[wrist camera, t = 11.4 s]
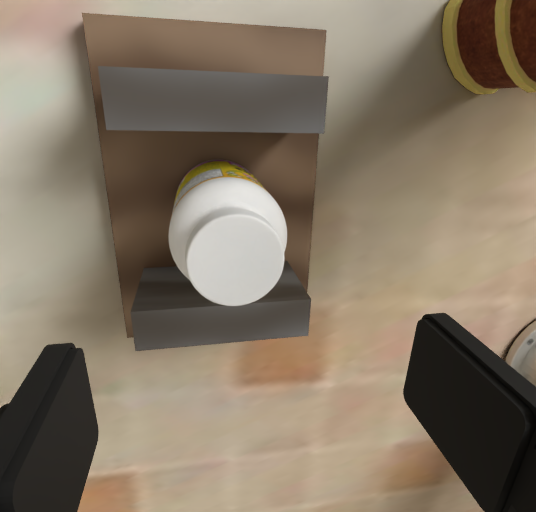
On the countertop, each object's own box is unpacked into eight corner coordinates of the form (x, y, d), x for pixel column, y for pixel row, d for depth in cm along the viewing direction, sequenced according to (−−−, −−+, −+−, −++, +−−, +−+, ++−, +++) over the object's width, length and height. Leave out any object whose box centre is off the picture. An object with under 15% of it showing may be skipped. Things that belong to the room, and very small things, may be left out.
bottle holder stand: (300, 314, 36) (329, 371, 28) (130, 328, 33) (110, 395, 25) (319, 33, 27) (370, 4, 19) (88, 18, 24) (38, -24, 16)
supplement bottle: (274, 216, 30) (326, 285, 18) (203, 254, 30) (210, 347, 19) (236, 141, 27) (268, 166, 16) (158, 183, 27) (132, 239, 16)
